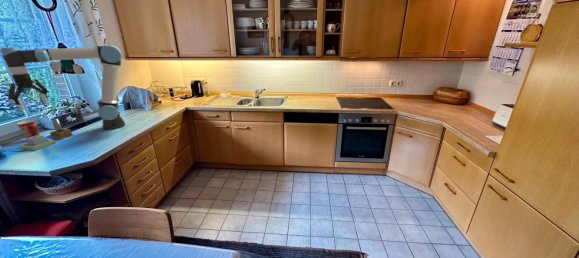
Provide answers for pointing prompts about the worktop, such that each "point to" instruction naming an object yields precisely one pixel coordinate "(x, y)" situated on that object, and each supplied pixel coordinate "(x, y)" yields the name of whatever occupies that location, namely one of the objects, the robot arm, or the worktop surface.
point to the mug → (28, 128)
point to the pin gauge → (57, 125)
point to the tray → (37, 147)
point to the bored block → (61, 134)
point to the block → (35, 140)
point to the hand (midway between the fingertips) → (35, 106)
